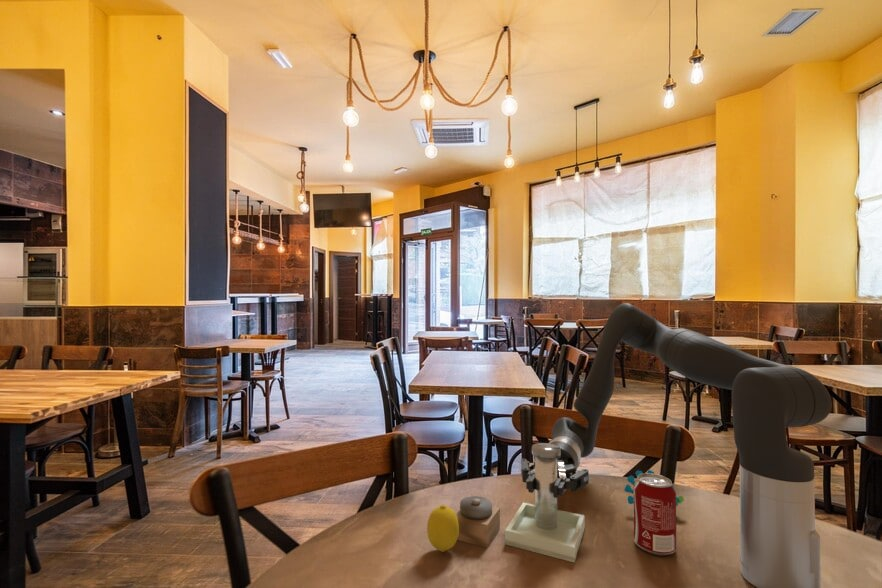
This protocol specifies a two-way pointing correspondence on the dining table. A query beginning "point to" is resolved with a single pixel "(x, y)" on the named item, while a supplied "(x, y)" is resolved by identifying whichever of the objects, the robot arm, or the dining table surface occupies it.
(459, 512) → the pulley stand
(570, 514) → the tray
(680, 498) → the gear
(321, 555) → the dining table surface
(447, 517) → the lemon
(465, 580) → the dining table surface
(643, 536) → the soda can
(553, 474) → the pin
